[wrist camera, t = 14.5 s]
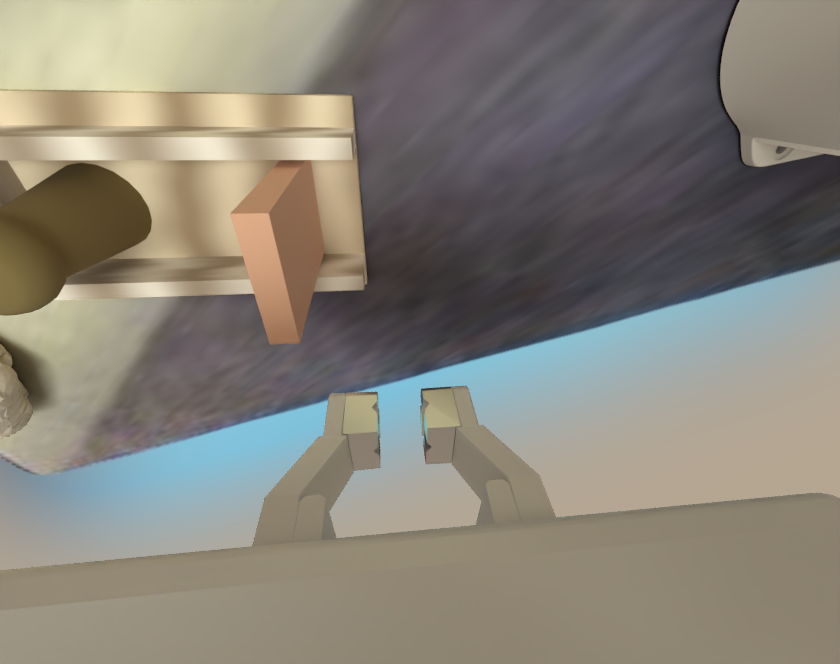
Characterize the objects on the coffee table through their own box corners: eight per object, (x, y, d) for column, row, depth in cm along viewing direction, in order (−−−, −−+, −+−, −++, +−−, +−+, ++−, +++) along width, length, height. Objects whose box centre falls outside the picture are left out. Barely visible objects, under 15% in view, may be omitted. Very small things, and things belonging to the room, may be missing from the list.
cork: (41, 149, 23) (-158, 204, 15) (148, 178, 25) (25, 243, 16) (63, 234, 27) (-89, 320, 18) (155, 255, 28) (57, 342, 20)
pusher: (309, 154, 25) (268, 213, 15) (324, 250, 29) (299, 343, 20) (286, 154, 25) (229, 213, 15) (304, 250, 29) (269, 344, 20)
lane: (352, 94, 24) (347, 101, 20) (367, 278, 32) (366, 309, 28) (-44, 88, 22) (-137, 95, 18) (83, 287, 30) (39, 321, 26)
